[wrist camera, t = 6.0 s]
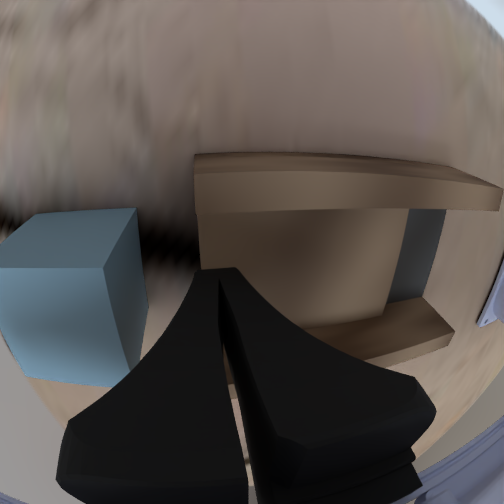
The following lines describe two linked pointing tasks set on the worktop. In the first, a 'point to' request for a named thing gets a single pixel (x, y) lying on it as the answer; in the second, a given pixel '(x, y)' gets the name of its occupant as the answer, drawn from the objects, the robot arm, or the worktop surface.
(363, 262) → the walnut channel
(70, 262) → the blue block
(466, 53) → the worktop surface
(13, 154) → the worktop surface
